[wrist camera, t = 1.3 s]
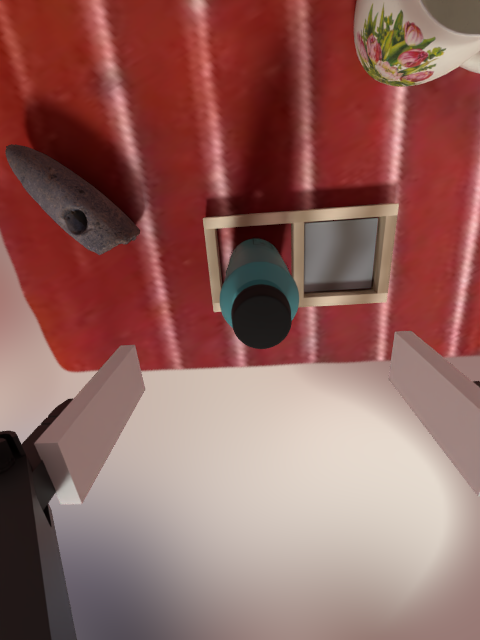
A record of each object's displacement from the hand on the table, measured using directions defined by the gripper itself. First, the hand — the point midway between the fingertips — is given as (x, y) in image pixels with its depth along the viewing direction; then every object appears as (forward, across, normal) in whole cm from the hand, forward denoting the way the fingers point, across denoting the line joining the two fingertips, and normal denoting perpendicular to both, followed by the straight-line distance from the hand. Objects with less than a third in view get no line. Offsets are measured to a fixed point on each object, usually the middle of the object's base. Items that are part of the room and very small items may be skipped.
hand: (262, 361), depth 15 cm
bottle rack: (+24, +5, 0) cm, 25 cm away
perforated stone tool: (+24, -19, +9) cm, 32 cm away
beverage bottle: (+24, 0, 0) cm, 24 cm away
